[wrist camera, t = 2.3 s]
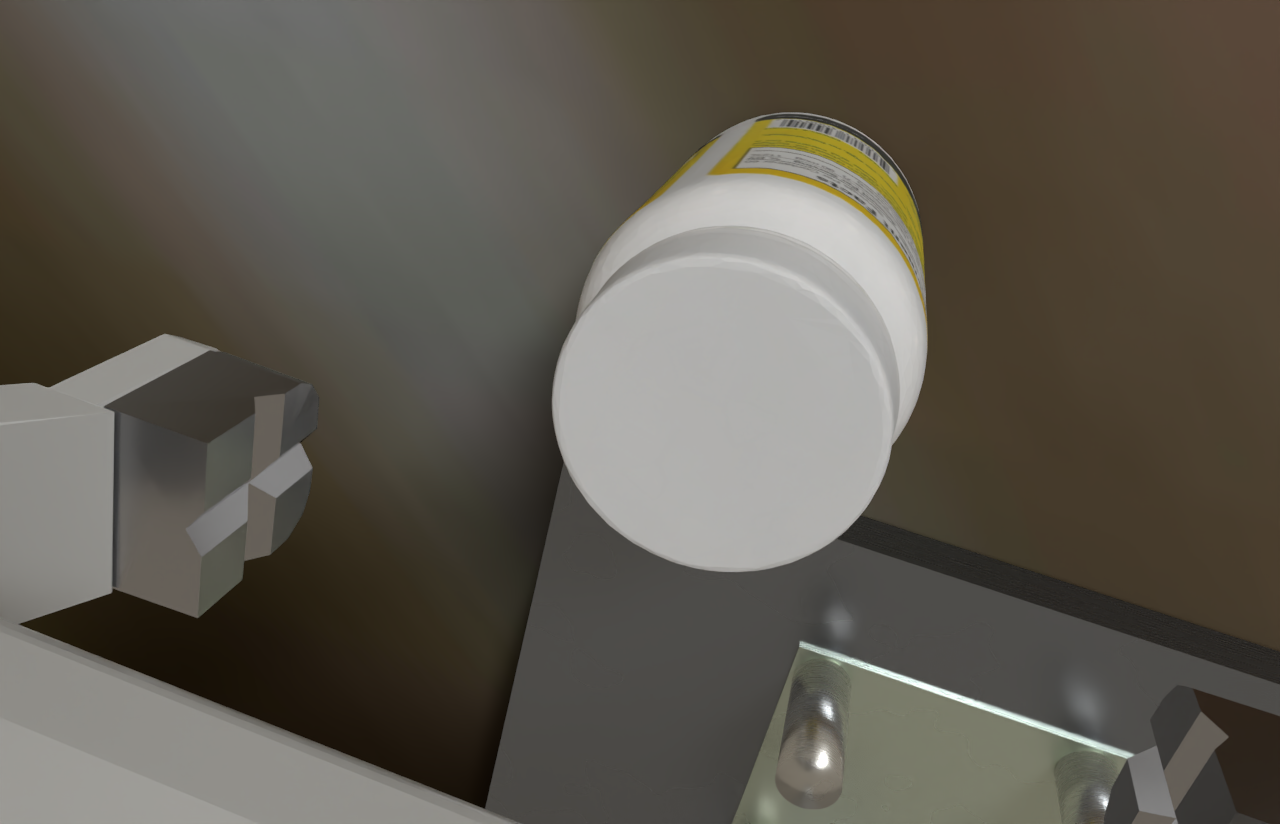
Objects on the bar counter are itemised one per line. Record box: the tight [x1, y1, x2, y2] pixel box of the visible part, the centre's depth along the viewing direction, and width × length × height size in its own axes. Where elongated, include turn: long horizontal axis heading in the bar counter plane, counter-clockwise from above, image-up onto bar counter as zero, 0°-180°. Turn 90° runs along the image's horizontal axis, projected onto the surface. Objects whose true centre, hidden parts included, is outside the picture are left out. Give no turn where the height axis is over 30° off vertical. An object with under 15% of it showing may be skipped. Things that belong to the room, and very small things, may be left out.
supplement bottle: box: [552, 113, 927, 572], centre depth 16 cm, size 5×5×8 cm
